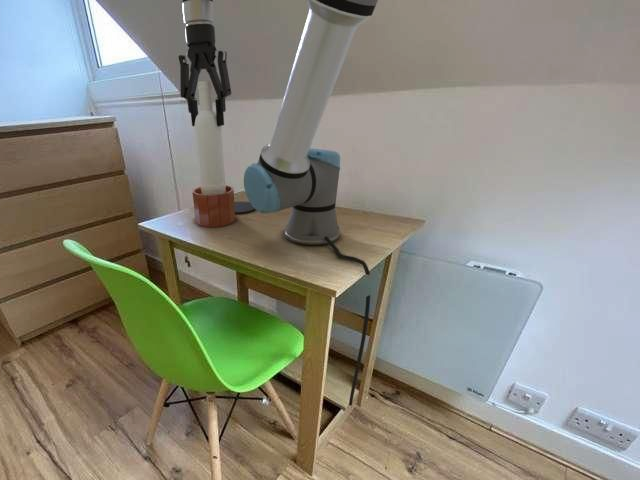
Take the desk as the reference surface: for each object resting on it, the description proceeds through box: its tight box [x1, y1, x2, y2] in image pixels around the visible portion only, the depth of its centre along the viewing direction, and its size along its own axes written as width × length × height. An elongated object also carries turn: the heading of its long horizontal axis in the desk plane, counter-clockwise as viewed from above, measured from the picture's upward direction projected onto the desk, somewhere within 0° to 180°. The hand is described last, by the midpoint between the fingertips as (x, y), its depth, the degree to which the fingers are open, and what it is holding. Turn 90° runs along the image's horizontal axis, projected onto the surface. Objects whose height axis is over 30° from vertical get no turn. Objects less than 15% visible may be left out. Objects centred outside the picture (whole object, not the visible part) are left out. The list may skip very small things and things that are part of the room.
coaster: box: [234, 201, 257, 215], centre depth 123 cm, size 13×13×1 cm
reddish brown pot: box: [191, 184, 236, 228], centre depth 111 cm, size 13×13×10 cm
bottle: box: [194, 80, 227, 195], centre depth 100 cm, size 8×8×30 cm
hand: (208, 125), depth 98 cm, fingers closed on bottle, 8 cm apart
